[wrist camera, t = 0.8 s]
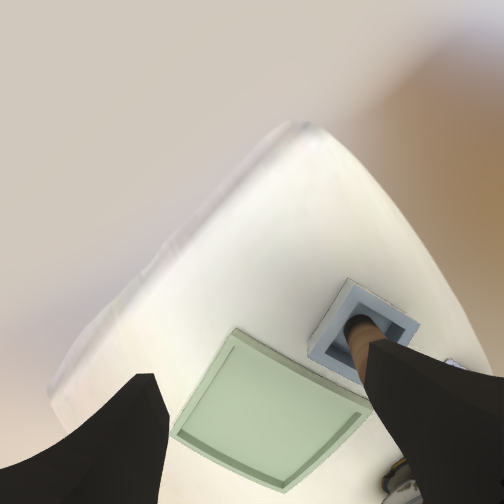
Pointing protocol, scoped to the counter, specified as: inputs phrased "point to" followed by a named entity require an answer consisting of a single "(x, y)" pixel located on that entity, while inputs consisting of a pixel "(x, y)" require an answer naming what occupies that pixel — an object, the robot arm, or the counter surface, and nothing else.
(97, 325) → the counter surface
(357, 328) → the dowel
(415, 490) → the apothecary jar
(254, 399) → the tray
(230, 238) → the counter surface
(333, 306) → the blue-grey square socket
